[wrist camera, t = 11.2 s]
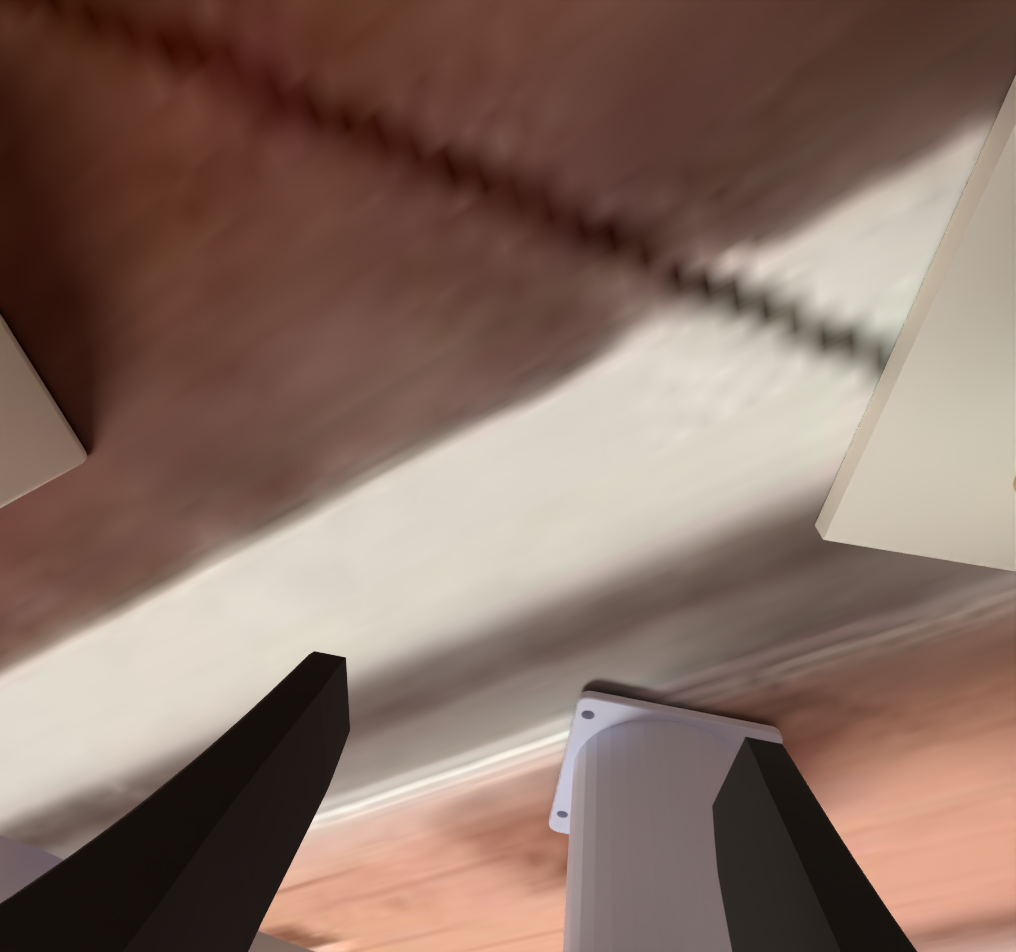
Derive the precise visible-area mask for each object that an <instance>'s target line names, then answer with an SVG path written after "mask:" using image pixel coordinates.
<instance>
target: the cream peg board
mask: <svg viewBox="0 0 1016 952" xmlns="http://www.w3.org/2000/svg"><path fill="white" fill-rule="evenodd" d="M815 527H816V528H817V530H818V532H819V533H820V535H821V537H822V538H823V540H828V541H834V542H840V543H846V544H852V545H858V546H864V547H870V548H876V549H883V550H889V551H895V552H901V553H907V554H913V555H919V556H925V557H931V558H937V559H943V560H949V561H955V562H961V563H967V564H973V565H979V566H985V567H991V568H997V569H1003V570H1009V571H1015V572H1016V75H1015V77H1014V80H1013V82H1012V84H1011V86H1010V89H1009V91H1008V93H1007V95H1006V98H1005V100H1004V102H1003V104H1002V107H1001V109H1000V111H999V113H998V116H997V118H996V120H995V122H994V125H993V127H992V129H991V131H990V134H989V136H988V138H987V140H986V142H985V145H984V147H983V149H982V151H981V154H980V156H979V158H978V160H977V163H976V165H975V167H974V169H973V172H972V174H971V176H970V178H969V181H968V183H967V185H966V187H965V190H964V192H963V194H962V196H961V199H960V201H959V203H958V205H957V207H956V210H955V212H954V214H953V216H952V219H951V221H950V223H949V225H948V228H947V230H946V232H945V234H944V237H943V239H942V241H941V243H940V246H939V248H938V250H937V252H936V255H935V257H934V259H933V261H932V264H931V266H930V268H929V270H928V272H927V275H926V277H925V279H924V281H923V284H922V286H921V288H920V290H919V293H918V295H917V297H916V299H915V302H914V304H913V306H912V308H911V311H910V313H909V315H908V317H907V320H906V322H905V324H904V326H903V329H902V331H901V333H900V335H899V338H898V340H897V342H896V344H895V346H894V349H893V351H892V353H891V355H890V358H889V360H888V362H887V364H886V367H885V369H884V371H883V373H882V376H881V378H880V380H879V382H878V385H877V387H876V389H875V391H874V394H873V396H872V398H871V400H870V403H869V405H868V407H867V409H866V411H865V414H864V416H863V418H862V420H861V423H860V425H859V427H858V429H857V432H856V434H855V436H854V438H853V441H852V443H851V445H850V447H849V450H848V452H847V454H846V456H845V459H844V461H843V463H842V465H841V468H840V470H839V472H838V474H837V476H836V479H835V481H834V483H833V485H832V488H831V490H830V492H829V494H828V497H827V499H826V501H825V503H824V506H823V508H822V510H821V512H820V515H819V517H818V519H817V521H816V524H815Z"/></svg>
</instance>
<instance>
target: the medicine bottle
mask: <svg viewBox="0 0 1016 952" xmlns="http://www.w3.org/2000/svg"><path fill="white" fill-rule="evenodd" d="M86 459H87V453H86V451H85V449H84V448H83V446H82V444H81V443H80V441H79V439H78V438H77V436H76V435H75V433H74V431H73V430H72V428H71V427H70V425H69V423H68V422H67V420H66V419H65V417H64V415H63V414H62V412H61V411H60V409H59V407H58V406H57V404H56V403H55V401H54V399H53V398H52V396H51V395H50V393H49V391H48V390H47V388H46V386H45V385H44V383H43V382H42V380H41V378H40V377H39V375H38V374H37V372H36V370H35V369H34V367H33V366H32V364H31V362H30V361H29V359H28V358H27V356H26V354H25V353H24V351H23V350H22V348H21V346H20V345H19V343H18V341H17V340H16V338H15V337H14V335H13V333H12V332H11V330H10V329H9V327H8V325H7V324H6V322H5V321H4V319H3V317H2V316H1V314H0V508H1V507H3V506H5V505H7V504H9V503H10V502H12V501H14V500H16V499H18V498H20V497H21V496H23V495H25V494H27V493H29V492H31V491H32V490H34V489H36V488H38V487H40V486H42V485H43V484H45V483H47V482H49V481H51V480H53V479H54V478H56V477H58V476H60V475H62V474H64V473H65V472H67V471H69V470H71V469H73V468H75V467H76V466H78V465H80V464H82V463H83V462H84V461H85V460H86Z"/></svg>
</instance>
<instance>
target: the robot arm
mask: <svg viewBox="0 0 1016 952" xmlns="http://www.w3.org/2000/svg"><path fill="white" fill-rule="evenodd" d="M586 710H589V711H586ZM349 731H350V722H349V704H348V687H347V670H346V658H345V657H340V656H335V655H330V654H325V653H320V652H315V651H314V652H313V653H311V654H309V655H308V656H307V657H306V658H305V659H304V660H303V661H302V662H301V663H300V664H299V665H298V666H297V667H296V668H295V669H294V670H293V671H292V672H291V673H290V674H289V675H287V676H286V677H285V678H284V679H283V680H282V681H281V682H280V683H279V684H278V685H277V686H276V687H275V688H274V689H273V690H272V691H271V692H270V693H269V694H268V695H266V696H265V697H264V698H263V699H262V700H261V701H260V702H259V703H258V704H257V705H256V706H255V707H254V708H252V709H251V710H250V711H249V712H248V713H247V714H246V715H245V716H244V717H243V718H241V719H240V720H239V721H238V722H237V723H236V724H235V725H234V726H232V727H231V728H230V729H229V730H228V731H227V732H226V733H225V734H223V735H222V736H221V737H220V738H219V739H218V740H217V741H216V742H214V743H213V744H212V745H211V746H210V747H209V748H208V749H206V750H205V751H204V752H203V753H202V754H201V755H199V756H198V757H197V758H196V759H195V760H193V761H192V762H191V763H190V764H189V765H187V766H186V767H185V768H184V769H182V770H181V771H180V772H179V773H178V774H176V775H175V776H174V777H173V778H172V779H170V780H169V781H168V782H167V783H165V784H164V785H163V786H162V787H161V788H159V789H158V790H157V791H156V792H154V793H153V794H152V795H151V796H150V797H148V798H147V799H146V800H144V801H143V802H142V803H141V804H139V805H138V806H137V807H135V808H134V809H133V810H132V811H130V812H129V813H128V814H126V815H125V816H124V817H123V818H121V819H120V820H119V821H117V822H116V823H115V824H113V825H112V826H111V827H109V828H108V829H107V830H105V831H104V832H102V833H101V834H100V835H98V836H97V837H96V838H94V839H93V840H92V841H90V842H89V843H87V844H86V845H85V846H83V847H82V848H81V849H79V850H78V851H76V852H75V853H74V854H72V855H71V856H69V857H68V858H67V859H65V860H64V861H62V862H61V863H59V864H58V865H56V866H55V867H54V868H52V869H51V870H49V871H48V872H46V873H45V874H43V875H42V876H40V877H39V878H37V879H36V880H35V881H33V882H32V883H30V884H29V885H27V886H26V887H24V888H23V889H21V890H20V891H19V892H17V893H16V894H14V895H13V896H12V897H10V898H8V899H7V900H5V901H4V902H2V903H1V904H0V952H248V950H249V949H250V946H251V944H252V942H253V940H254V938H255V935H256V933H257V931H258V929H259V927H260V925H261V922H262V920H263V918H264V916H265V914H266V912H267V910H268V908H269V906H270V904H271V902H272V900H273V898H274V896H275V894H276V892H277V890H278V888H279V886H280V884H281V882H282V880H283V878H284V876H285V874H286V872H287V870H288V868H289V866H290V864H291V862H292V860H293V858H294V856H295V854H296V852H297V850H298V848H299V846H300V844H301V842H302V840H303V838H304V836H305V834H306V832H307V830H308V828H309V826H310V824H311V822H312V820H313V818H314V816H315V814H316V812H317V810H318V808H319V806H320V804H321V802H322V800H323V798H324V796H325V794H326V792H327V789H328V787H329V785H330V782H331V780H332V777H333V774H334V772H335V769H336V767H337V764H338V762H339V759H340V756H341V753H342V751H343V748H344V745H345V742H346V740H347V737H348V734H349ZM782 743H783V739H782V736H781V733H780V730H778V729H777V728H776V727H773V726H769V725H764V724H759V723H754V722H749V721H744V720H738V719H733V718H728V717H723V716H718V715H713V714H708V713H703V712H698V711H692V710H687V709H682V708H677V707H672V706H667V705H662V704H657V703H651V702H646V701H641V700H636V699H631V698H626V697H621V696H616V695H610V694H605V693H600V692H595V691H585V692H582V693H581V694H580V695H579V696H578V700H577V704H576V708H575V712H574V716H573V720H572V725H571V729H570V733H569V737H568V741H567V746H566V750H565V754H564V758H563V762H562V766H561V771H560V775H559V779H558V783H557V787H556V791H555V796H554V800H553V804H552V808H551V812H550V817H549V826H550V827H551V829H553V830H554V831H557V832H561V833H566V834H569V848H568V866H567V885H566V903H565V921H564V939H563V952H917V951H916V949H915V948H914V947H913V945H912V944H911V942H910V941H909V939H908V938H907V937H906V935H905V934H904V932H903V931H902V929H901V928H900V926H899V925H898V924H897V922H896V921H895V919H894V918H893V916H892V915H891V913H890V912H889V910H888V909H887V907H886V906H885V904H884V903H883V901H882V900H881V898H880V897H879V895H878V894H877V892H876V891H875V889H874V888H873V886H872V885H871V883H870V882H869V880H868V879H867V877H866V876H865V874H864V873H863V871H862V870H861V868H860V867H859V865H858V864H857V862H856V861H855V859H854V858H853V856H852V855H851V853H850V852H849V850H848V848H847V847H846V845H845V844H844V842H843V841H842V839H841V838H840V836H839V834H838V833H837V831H836V830H835V828H834V826H833V825H832V823H831V822H830V820H829V818H828V817H827V815H826V814H825V812H824V811H823V809H822V807H821V806H820V804H819V803H818V801H817V799H816V798H815V796H814V794H813V793H812V791H811V790H810V788H809V786H808V785H807V783H806V781H805V780H804V778H803V777H802V775H801V773H800V772H799V770H798V768H797V767H796V765H795V764H794V762H793V760H792V759H791V757H790V756H789V754H788V752H787V751H786V749H785V748H784V746H783V745H782Z"/></svg>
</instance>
